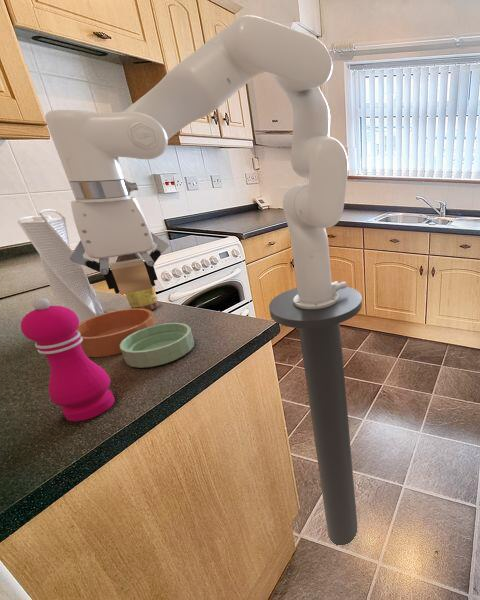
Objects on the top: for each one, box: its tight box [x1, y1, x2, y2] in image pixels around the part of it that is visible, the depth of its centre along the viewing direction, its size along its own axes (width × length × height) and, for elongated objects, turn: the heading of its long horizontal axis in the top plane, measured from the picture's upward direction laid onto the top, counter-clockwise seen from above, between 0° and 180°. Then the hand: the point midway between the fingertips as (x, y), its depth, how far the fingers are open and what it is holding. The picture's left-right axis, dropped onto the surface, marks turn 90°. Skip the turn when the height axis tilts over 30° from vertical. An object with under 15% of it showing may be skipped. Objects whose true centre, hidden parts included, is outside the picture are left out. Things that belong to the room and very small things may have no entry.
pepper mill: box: [20, 297, 116, 423], centre depth 52 cm, size 7×7×20 cm
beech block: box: [109, 257, 152, 296], centre depth 65 cm, size 5×5×5 cm
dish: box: [120, 322, 195, 368], centre depth 71 cm, size 12×12×4 cm
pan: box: [76, 308, 157, 358], centre depth 76 cm, size 14×14×4 cm
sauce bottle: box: [115, 253, 159, 312], centre depth 88 cm, size 7×6×20 cm
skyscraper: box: [17, 208, 106, 323], centre depth 79 cm, size 8×8×28 cm
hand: (135, 286), depth 66 cm, fingers closed on beech block, 5 cm apart
